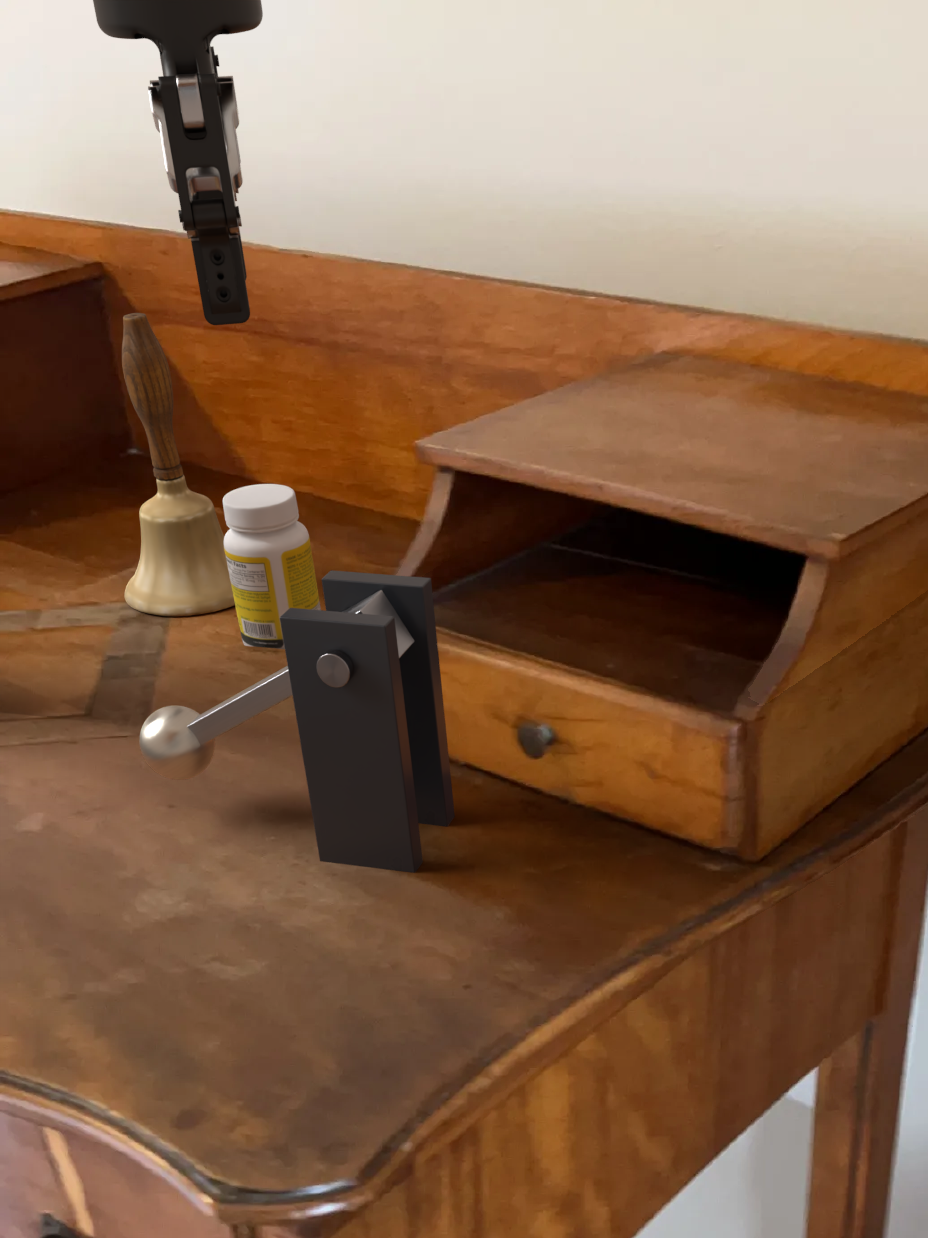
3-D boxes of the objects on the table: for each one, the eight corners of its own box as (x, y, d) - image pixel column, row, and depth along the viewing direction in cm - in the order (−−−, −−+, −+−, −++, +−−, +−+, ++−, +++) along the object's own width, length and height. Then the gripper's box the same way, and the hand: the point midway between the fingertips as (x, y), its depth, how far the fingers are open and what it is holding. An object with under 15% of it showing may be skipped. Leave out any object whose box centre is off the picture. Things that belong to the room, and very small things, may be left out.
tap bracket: (273, 912, 66) (218, 628, 58) (345, 822, 72) (305, 553, 64) (447, 935, 64) (415, 645, 56) (506, 841, 70) (485, 567, 62)
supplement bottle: (317, 620, 91) (295, 476, 86) (331, 650, 88) (309, 502, 83) (237, 632, 90) (210, 487, 85) (248, 663, 87) (220, 514, 82)
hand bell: (247, 614, 92) (195, 329, 82) (110, 619, 92) (43, 334, 83) (269, 564, 99) (224, 294, 89) (142, 568, 99) (82, 299, 89)
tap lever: (158, 803, 67) (111, 742, 66) (192, 769, 70) (147, 710, 68) (396, 677, 60) (349, 606, 59) (425, 644, 63) (380, 575, 61)
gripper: (85, -96, 73) (156, 280, 83) (63, -89, 62) (148, 343, 72) (244, -102, 74) (295, 269, 84) (250, -96, 63) (309, 330, 73)
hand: (227, 303), depth 78 cm, fingers open, 8 cm apart
